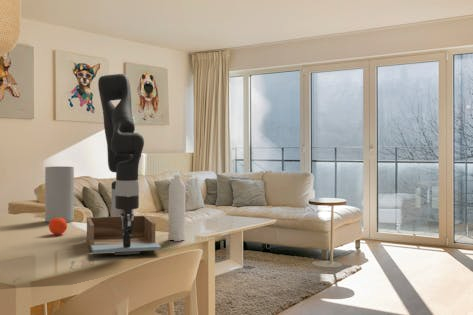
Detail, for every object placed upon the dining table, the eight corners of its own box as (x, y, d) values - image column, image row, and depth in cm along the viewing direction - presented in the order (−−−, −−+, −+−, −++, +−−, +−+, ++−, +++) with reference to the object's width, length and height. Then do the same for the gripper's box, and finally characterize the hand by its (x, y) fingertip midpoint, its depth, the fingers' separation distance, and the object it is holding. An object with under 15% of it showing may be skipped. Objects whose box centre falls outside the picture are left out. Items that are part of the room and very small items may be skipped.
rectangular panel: (91, 245, 186) (93, 249, 177) (155, 242, 193) (160, 246, 183) (91, 251, 186) (93, 256, 176) (155, 248, 193) (161, 253, 183)
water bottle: (169, 241, 208) (170, 174, 208) (166, 238, 215) (167, 173, 214) (192, 240, 211) (193, 174, 210) (189, 237, 217) (189, 173, 216)
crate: (86, 241, 207) (86, 217, 207) (146, 238, 214) (146, 215, 213) (90, 251, 188) (90, 225, 188) (155, 248, 195) (155, 223, 194)
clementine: (49, 233, 225) (49, 215, 224) (67, 232, 226) (67, 215, 226) (48, 236, 217) (48, 218, 217) (66, 235, 219) (66, 217, 219)
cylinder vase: (39, 221, 256) (39, 167, 255) (62, 218, 266) (62, 166, 265) (56, 224, 248) (56, 168, 248) (79, 221, 259) (79, 167, 258)
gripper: (113, 192, 187) (112, 243, 187) (117, 196, 174) (117, 251, 175) (135, 191, 189) (135, 242, 190) (141, 195, 177) (141, 250, 177)
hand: (126, 246), depth 182 cm, fingers closed
